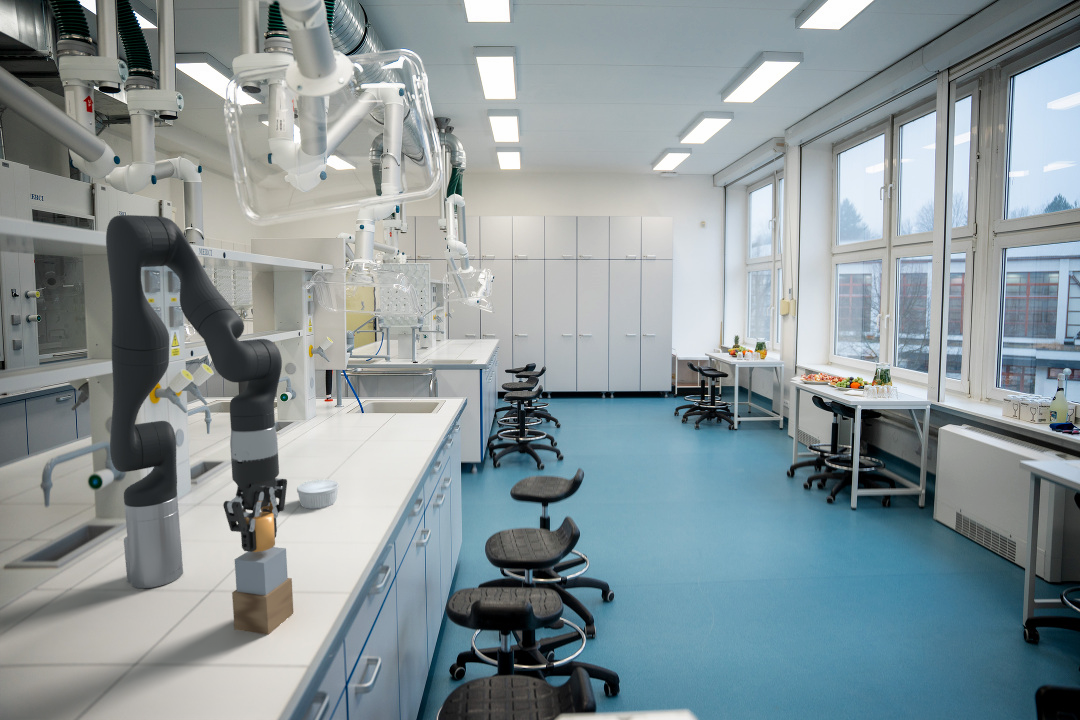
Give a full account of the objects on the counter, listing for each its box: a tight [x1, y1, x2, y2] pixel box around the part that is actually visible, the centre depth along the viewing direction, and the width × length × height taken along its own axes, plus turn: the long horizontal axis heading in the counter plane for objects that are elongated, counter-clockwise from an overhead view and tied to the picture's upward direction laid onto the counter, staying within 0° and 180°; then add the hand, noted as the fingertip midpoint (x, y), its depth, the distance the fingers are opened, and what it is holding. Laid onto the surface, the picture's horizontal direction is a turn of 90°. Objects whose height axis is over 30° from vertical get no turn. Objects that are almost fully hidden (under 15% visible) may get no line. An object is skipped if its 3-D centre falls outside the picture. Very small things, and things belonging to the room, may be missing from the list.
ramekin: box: [296, 479, 340, 510], centre depth 168 cm, size 11×11×5 cm
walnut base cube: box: [231, 577, 294, 636], centre depth 108 cm, size 7×7×7 cm
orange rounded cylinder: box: [246, 511, 276, 552], centre depth 107 cm, size 5×5×6 cm
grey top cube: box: [234, 546, 289, 595], centre depth 107 cm, size 6×6×6 cm
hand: (260, 543), depth 107 cm, fingers closed on orange rounded cylinder, 4 cm apart
